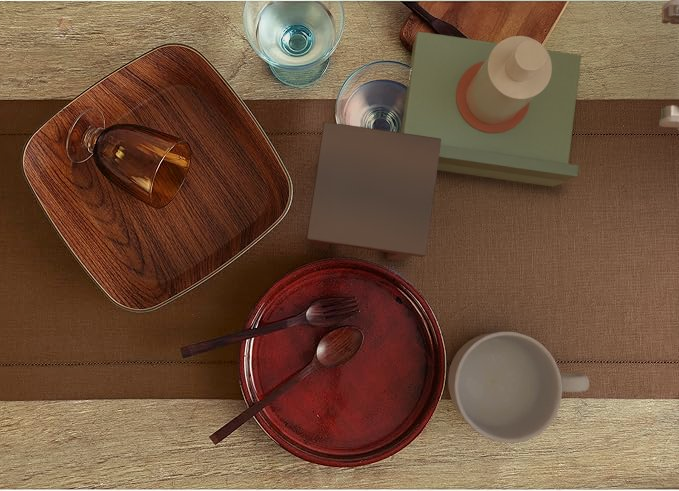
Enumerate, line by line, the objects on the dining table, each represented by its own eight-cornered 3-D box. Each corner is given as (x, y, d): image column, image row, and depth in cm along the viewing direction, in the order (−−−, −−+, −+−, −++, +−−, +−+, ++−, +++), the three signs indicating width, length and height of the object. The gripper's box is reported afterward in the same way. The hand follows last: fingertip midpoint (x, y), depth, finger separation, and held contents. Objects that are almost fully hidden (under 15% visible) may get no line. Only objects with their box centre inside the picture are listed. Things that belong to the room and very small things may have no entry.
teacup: (433, 416, 67) (447, 434, 59) (448, 319, 68) (463, 324, 60) (557, 436, 67) (588, 456, 60) (570, 338, 68) (602, 346, 60)
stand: (325, 163, 69) (323, 121, 51) (412, 175, 69) (441, 138, 51) (312, 250, 68) (306, 239, 50) (400, 263, 68) (425, 256, 50)
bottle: (466, 68, 66) (496, 21, 54) (521, 69, 66) (564, 22, 54) (466, 123, 65) (496, 88, 53) (521, 124, 65) (565, 89, 53)
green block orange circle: (412, 45, 70) (421, 19, 63) (567, 68, 70) (593, 44, 63) (396, 164, 69) (403, 151, 62) (552, 187, 69) (577, 176, 62)
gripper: (849, -61, 51) (687, -71, 51) (848, 178, 50) (682, 169, 50) (792, -24, 58) (648, -33, 58) (790, 190, 57) (642, 181, 56)
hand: (663, 63), depth 54 cm, fingers open, 8 cm apart
